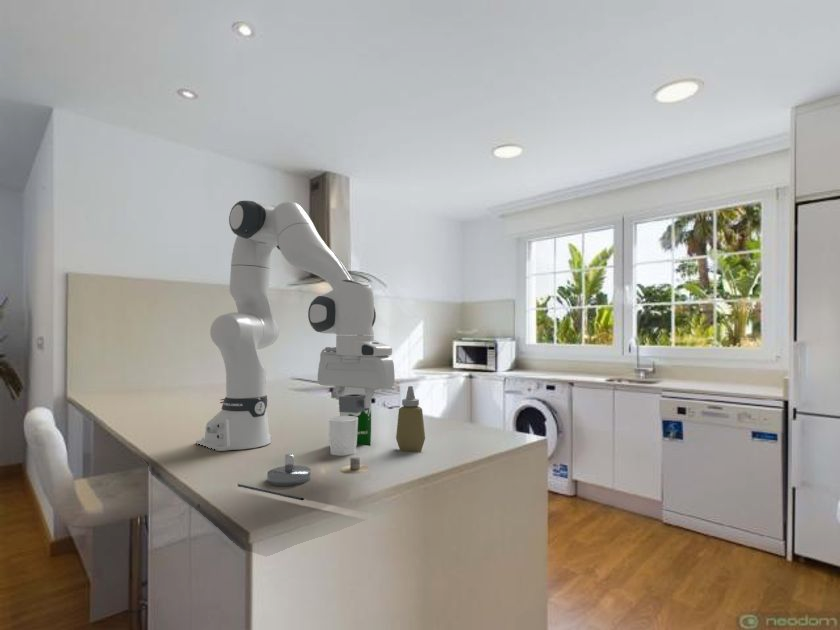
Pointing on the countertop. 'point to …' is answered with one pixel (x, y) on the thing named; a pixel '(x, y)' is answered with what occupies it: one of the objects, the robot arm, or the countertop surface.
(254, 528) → the countertop surface
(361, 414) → the milk carton
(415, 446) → the squeeze bottle
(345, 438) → the white cup
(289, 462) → the grey plate with knob
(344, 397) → the square hollow frame
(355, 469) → the stand
